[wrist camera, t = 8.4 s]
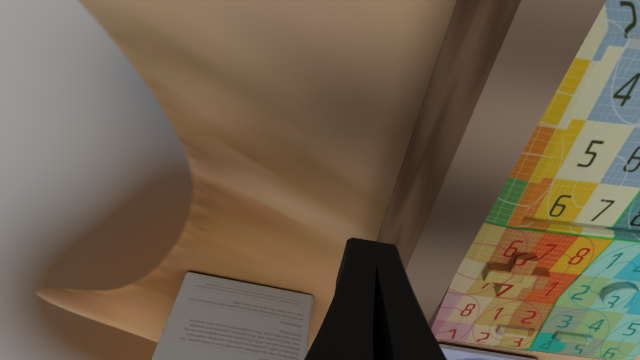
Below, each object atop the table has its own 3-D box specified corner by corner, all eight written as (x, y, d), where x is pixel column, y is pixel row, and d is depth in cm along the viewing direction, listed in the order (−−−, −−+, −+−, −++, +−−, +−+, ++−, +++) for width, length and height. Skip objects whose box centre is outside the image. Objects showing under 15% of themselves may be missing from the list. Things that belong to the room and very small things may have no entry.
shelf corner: (532, 312, 28) (572, 426, 22) (361, 285, 28) (360, 393, 22) (928, -176, 12) (1383, -192, 7) (541, -251, 12) (687, -328, 6)
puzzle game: (424, 352, 24) (592, -25, 12) (417, 285, 28) (538, -57, 15) (631, 378, 24) (1033, 20, 11) (596, 306, 27) (870, -24, 15)
